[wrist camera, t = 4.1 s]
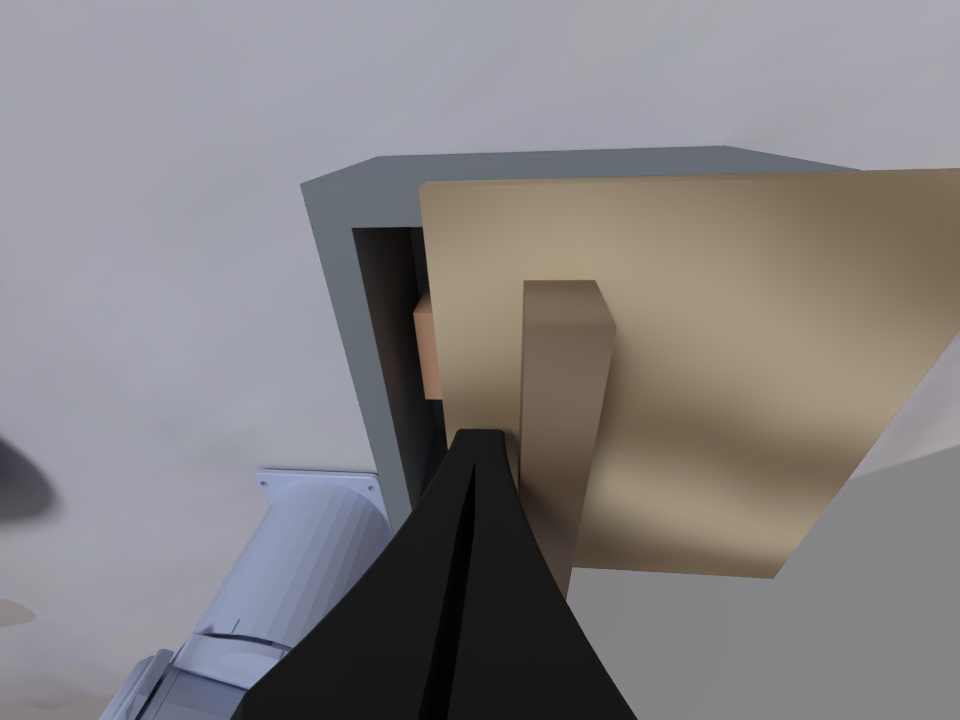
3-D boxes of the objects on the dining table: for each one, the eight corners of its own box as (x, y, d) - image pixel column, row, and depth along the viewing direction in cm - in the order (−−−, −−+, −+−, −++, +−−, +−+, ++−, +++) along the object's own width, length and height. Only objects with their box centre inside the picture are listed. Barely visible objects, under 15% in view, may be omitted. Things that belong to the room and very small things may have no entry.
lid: (761, 558, 15) (810, 646, 13) (462, 541, 16) (453, 621, 14) (1028, 166, 7) (1286, 195, 5) (425, 181, 8) (388, 211, 6)
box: (641, 443, 20) (683, 551, 15) (422, 436, 21) (394, 536, 16) (725, 146, 13) (860, 170, 8) (377, 156, 14) (299, 184, 9)
